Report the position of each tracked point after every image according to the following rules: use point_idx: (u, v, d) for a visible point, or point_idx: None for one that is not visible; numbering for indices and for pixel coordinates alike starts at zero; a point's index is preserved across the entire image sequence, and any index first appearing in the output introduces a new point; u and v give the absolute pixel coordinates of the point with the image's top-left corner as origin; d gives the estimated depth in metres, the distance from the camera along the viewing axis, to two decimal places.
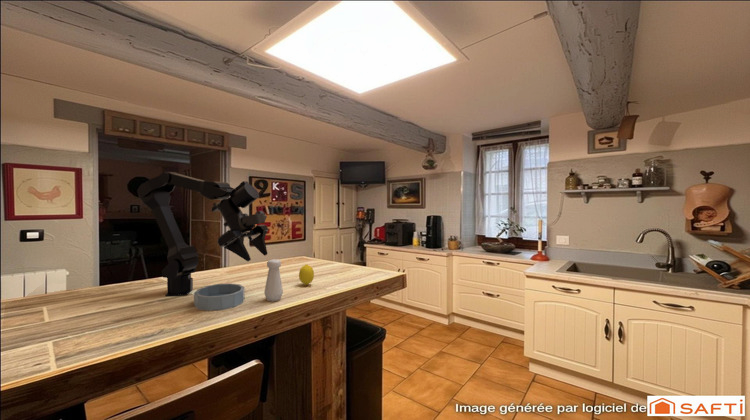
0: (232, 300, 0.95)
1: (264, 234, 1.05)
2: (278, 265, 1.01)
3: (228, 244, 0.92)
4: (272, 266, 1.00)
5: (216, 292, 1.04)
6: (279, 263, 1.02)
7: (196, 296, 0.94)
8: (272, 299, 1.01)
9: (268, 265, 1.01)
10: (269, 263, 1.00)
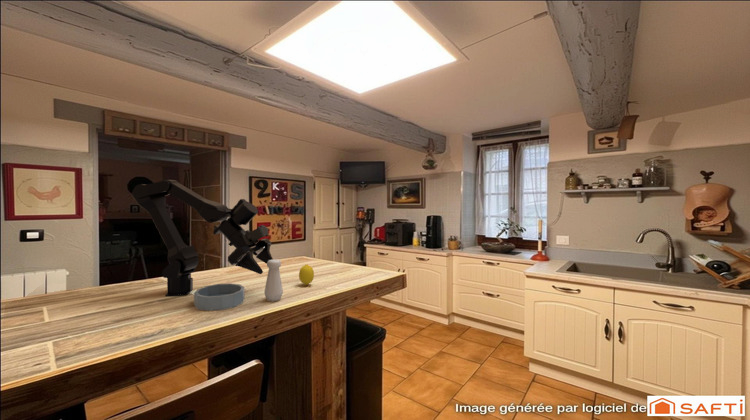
0: (232, 300, 0.95)
1: (268, 247, 1.08)
2: (278, 265, 1.01)
3: (239, 261, 0.95)
4: (272, 266, 1.00)
5: (216, 292, 1.04)
6: (279, 263, 1.02)
7: (196, 296, 0.94)
8: (272, 299, 1.01)
9: (268, 265, 1.01)
10: (269, 263, 1.00)
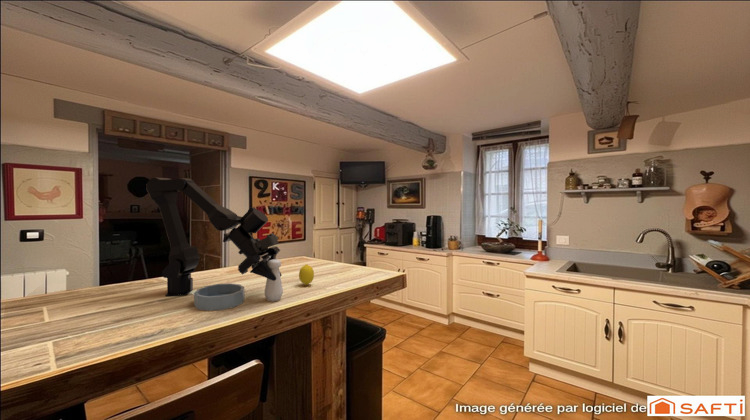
0: (232, 300, 0.95)
1: (274, 256, 1.06)
2: (278, 265, 1.01)
3: (253, 268, 0.97)
4: (272, 266, 1.00)
5: (216, 292, 1.04)
6: (279, 263, 1.02)
7: (196, 296, 0.94)
8: (272, 299, 1.01)
9: (268, 265, 1.01)
10: (269, 263, 1.00)
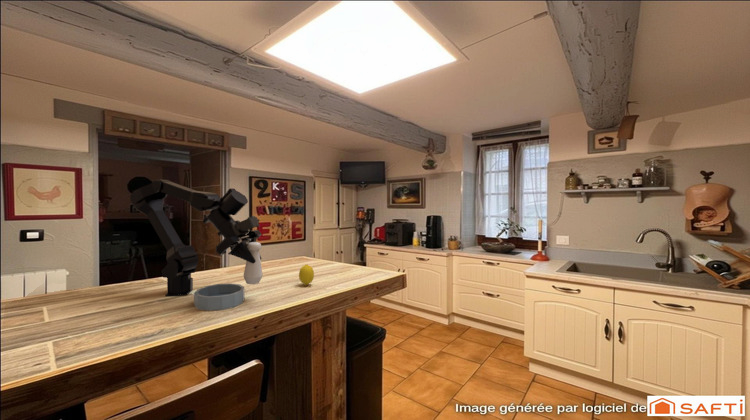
0: (232, 300, 0.95)
1: (255, 239, 1.04)
2: (258, 247, 1.00)
3: (232, 249, 0.96)
4: (252, 248, 0.99)
5: (216, 292, 1.04)
6: (259, 246, 1.00)
7: (196, 296, 0.94)
8: (251, 282, 0.99)
9: (248, 247, 0.99)
10: (249, 245, 0.99)
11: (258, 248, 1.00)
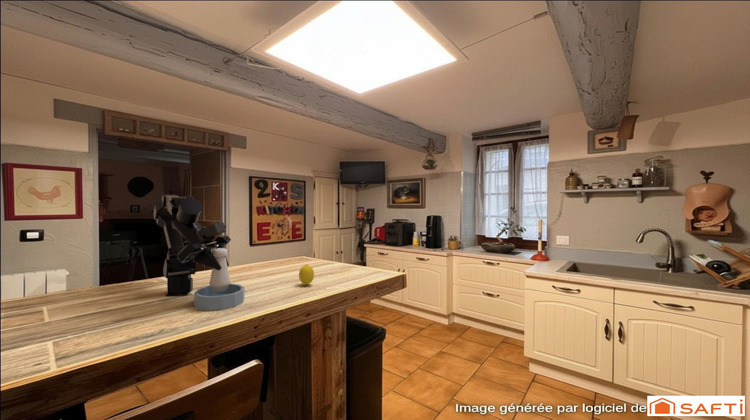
0: (232, 300, 0.95)
1: (222, 245, 1.01)
2: (224, 254, 0.97)
3: (196, 256, 0.93)
4: (217, 255, 0.96)
5: (216, 292, 1.04)
6: (225, 252, 0.97)
7: (196, 296, 0.94)
8: (217, 289, 0.96)
9: (213, 254, 0.96)
10: (214, 252, 0.96)
11: (224, 254, 0.97)
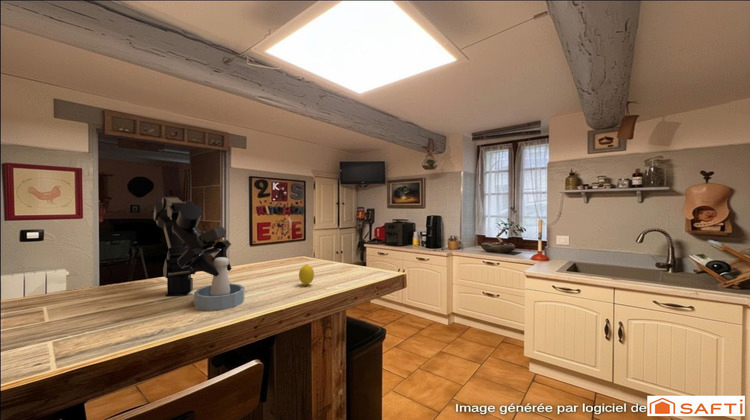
0: (232, 300, 0.95)
1: (225, 249, 1.03)
2: (225, 263, 0.97)
3: (193, 262, 0.92)
4: (218, 264, 0.96)
5: None
6: (226, 261, 0.98)
7: (196, 296, 0.94)
8: None
9: (214, 263, 0.96)
10: (215, 261, 0.96)
11: (225, 264, 0.97)
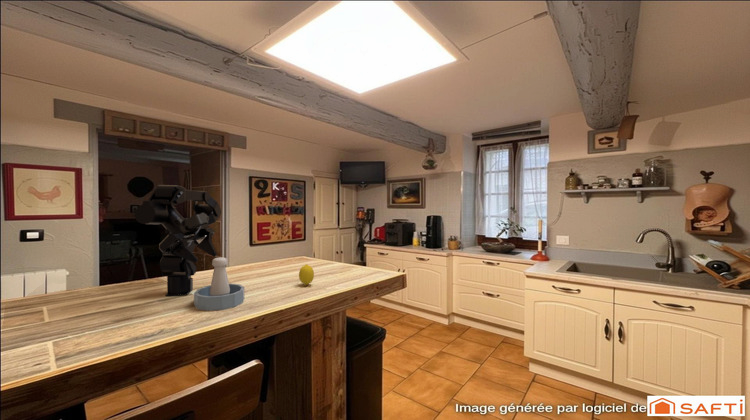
0: (232, 300, 0.95)
1: (210, 236, 1.05)
2: (224, 263, 0.97)
3: (171, 248, 0.91)
4: (217, 264, 0.96)
5: None
6: (225, 261, 0.98)
7: (196, 296, 0.94)
8: None
9: (213, 263, 0.97)
10: (214, 261, 0.96)
11: (224, 264, 0.97)
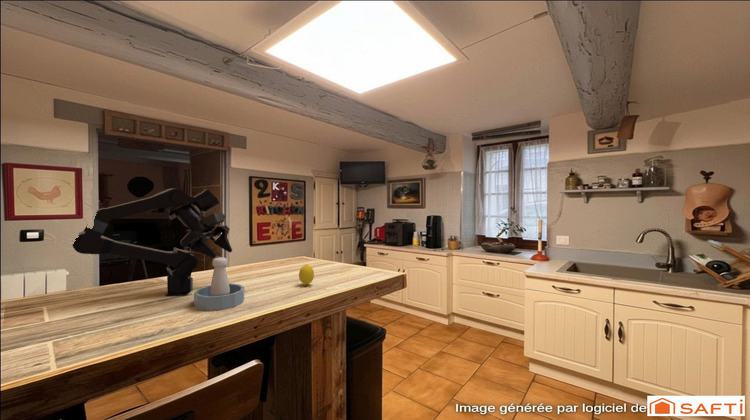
0: (232, 300, 0.95)
1: (226, 233, 1.12)
2: (224, 263, 0.97)
3: (192, 244, 0.99)
4: (217, 264, 0.96)
5: None
6: (225, 261, 0.98)
7: (196, 296, 0.94)
8: None
9: (213, 263, 0.97)
10: (214, 261, 0.96)
11: (224, 264, 0.97)
